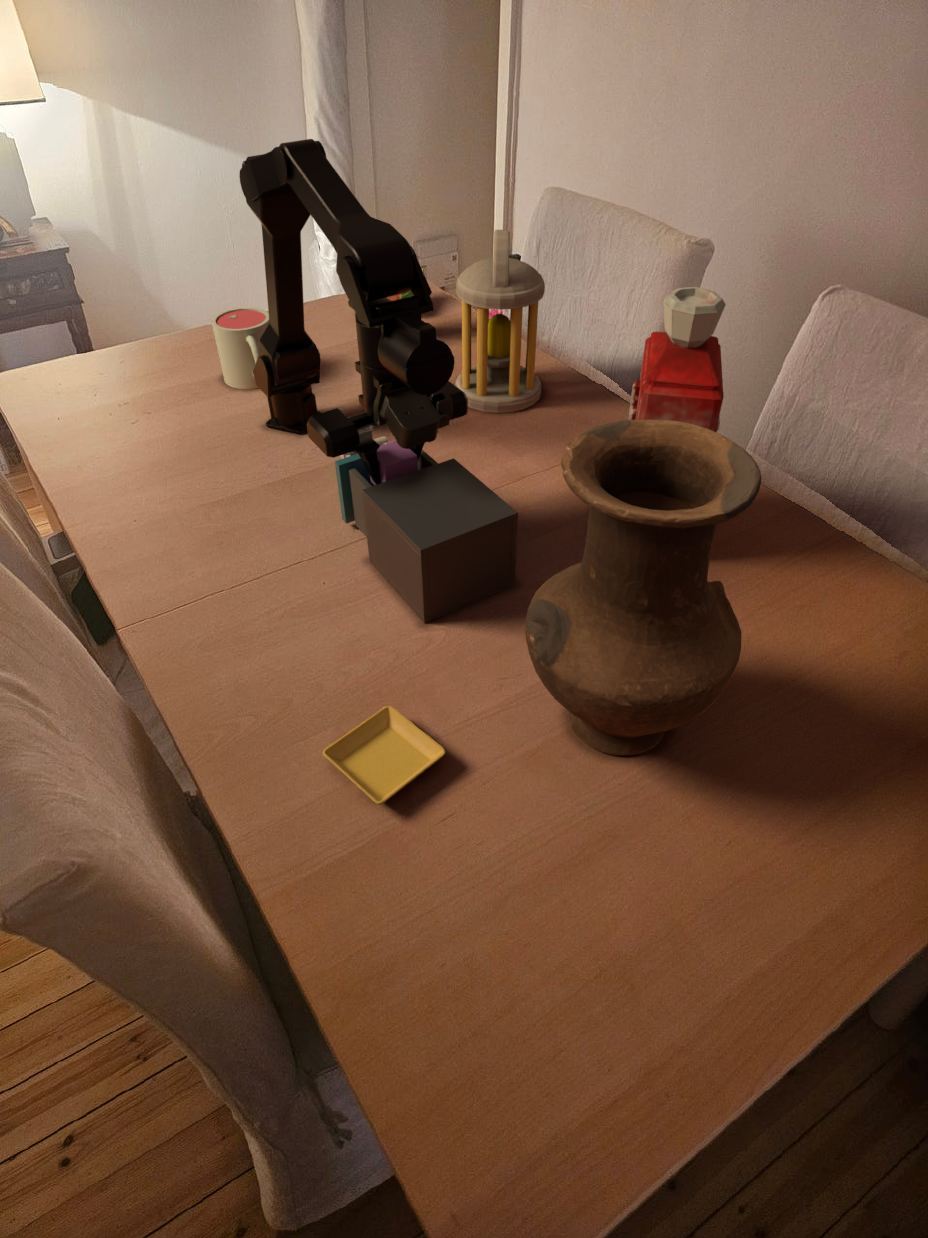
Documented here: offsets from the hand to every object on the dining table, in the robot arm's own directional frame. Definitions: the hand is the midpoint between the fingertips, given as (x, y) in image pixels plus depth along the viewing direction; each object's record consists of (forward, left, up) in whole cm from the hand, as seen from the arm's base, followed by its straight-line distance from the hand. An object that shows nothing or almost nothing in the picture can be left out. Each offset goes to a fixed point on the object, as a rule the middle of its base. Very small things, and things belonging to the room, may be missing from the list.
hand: (393, 477), depth 102 cm
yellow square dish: (+16, -35, -8) cm, 39 cm away
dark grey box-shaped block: (+9, -6, -8) cm, 13 cm away
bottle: (+31, +13, -8) cm, 34 cm away
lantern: (-1, +40, -8) cm, 41 cm away
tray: (0, 0, -7) cm, 7 cm away
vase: (+35, -21, -8) cm, 41 cm away
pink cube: (0, 0, -1) cm, 1 cm away
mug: (-40, +28, -8) cm, 50 cm away
